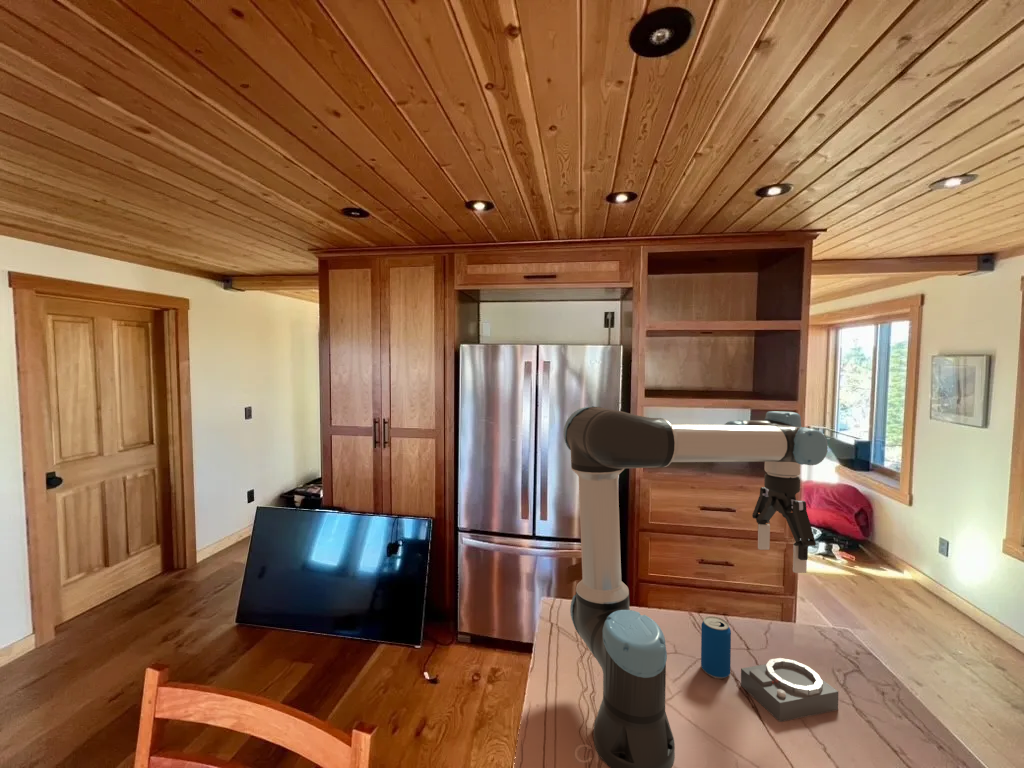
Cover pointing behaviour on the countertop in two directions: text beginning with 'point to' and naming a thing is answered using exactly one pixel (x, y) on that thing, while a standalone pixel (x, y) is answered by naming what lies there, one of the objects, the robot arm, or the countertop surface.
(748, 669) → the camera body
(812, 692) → the mount ring
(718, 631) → the beverage can
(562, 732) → the countertop surface
